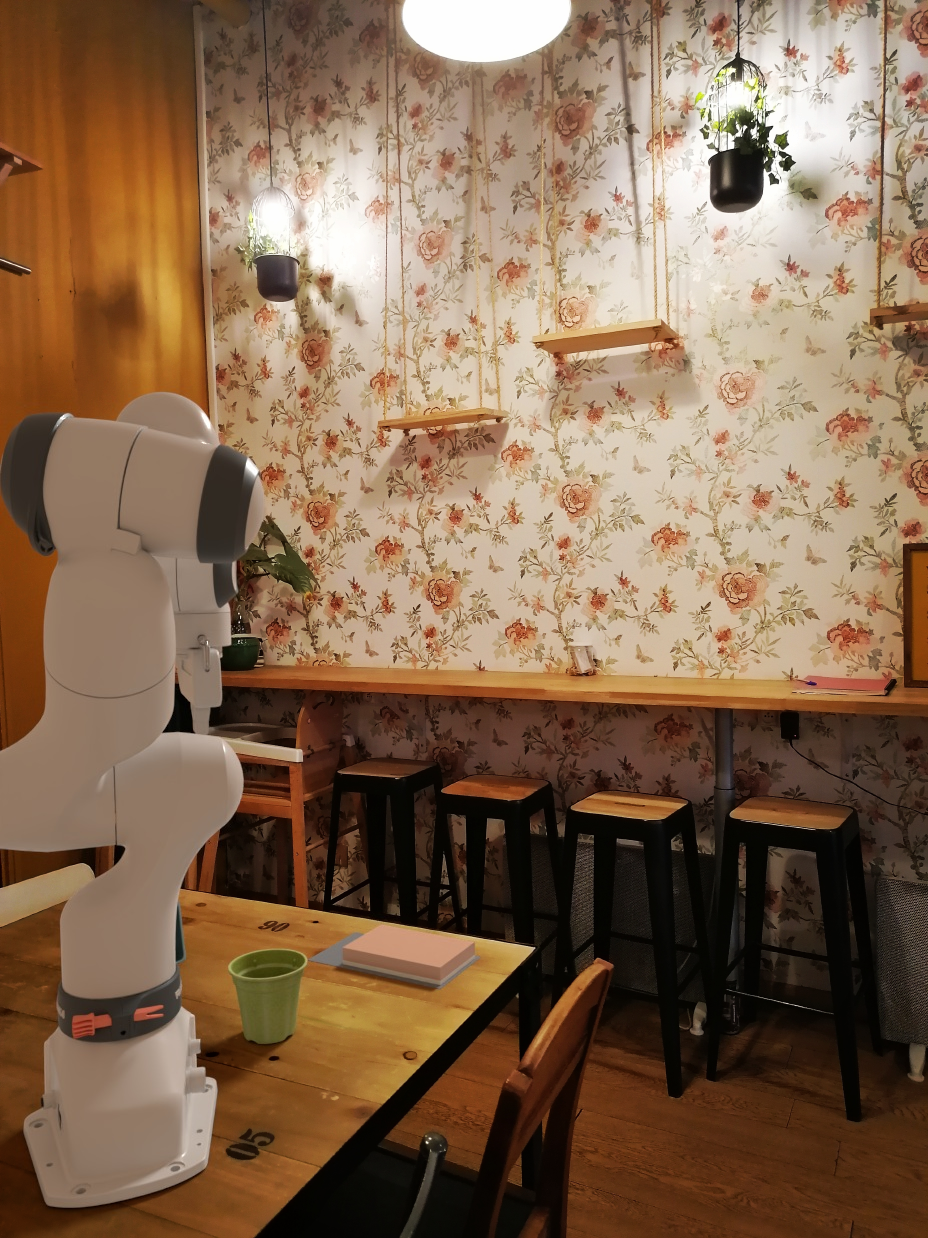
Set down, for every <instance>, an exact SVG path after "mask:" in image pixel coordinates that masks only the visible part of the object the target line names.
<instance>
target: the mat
mask: <svg viewBox="0 0 928 1238" xmlns="http://www.w3.org/2000/svg"><path fill="white" fill-rule="evenodd" d="M364 934H365V933H363V932H362V933H361V932H357V931H355V932H353V933H351V934H350V935H348V936H346V937H345V938H343V939H341V940H339V941H337V942H336V943H334V944H332V945H331V946H329V947H327V948H326V949H323V950H322V951H321V952H318V953H317V954H315V955H314V956H311V957H310V958H307V962H315V963H318V964H323V965H326V966H327V965H328V966H332V967H337V968H341V969H346V970H350V971H353V972H360V973H363V974H368V975H373V976H377V977H378V976H379V977H383V978H387V979H391V980H395V981H396V980H397V981H400V982H405V983H410V984H414V985H420V986H423V987H428V988H433V989H436V990H441V989H443V988H444V987H445V986H447V984H450V982H452V981H453V980H454V979H456V977H458V976H459V975H461V974H462V972H464V971H465V970H467V969H468V968H469V967H470V966H473V964H474V963H476V962H477V961H478V960H480V958H482V956H479V955H476V954H475V959H474V960H472V961H471V962H470V963H468V964H467V965H466V966H465V967H463V968H462V969H461V970H460V971H458V972H457V973H456V974H454V975H453V976H452V977H451V978H449V979H448V980H447V981H445V982H444V983H443V984H442V985H437V984H433V983H428V982H423V981H419V980H414V979H410V978H405V977H400V976H396V975H391V974H386V973H382V972H377V971H372V970H368V969H363V968H359V967H354V966H349V965H345V964H343V949H342V947H344V946H346V945H347V944H349V943H351V942H353V941H354V940H356V939H358V938H359V937H361V936H363V935H364ZM475 961H476V962H475Z"/></svg>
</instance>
